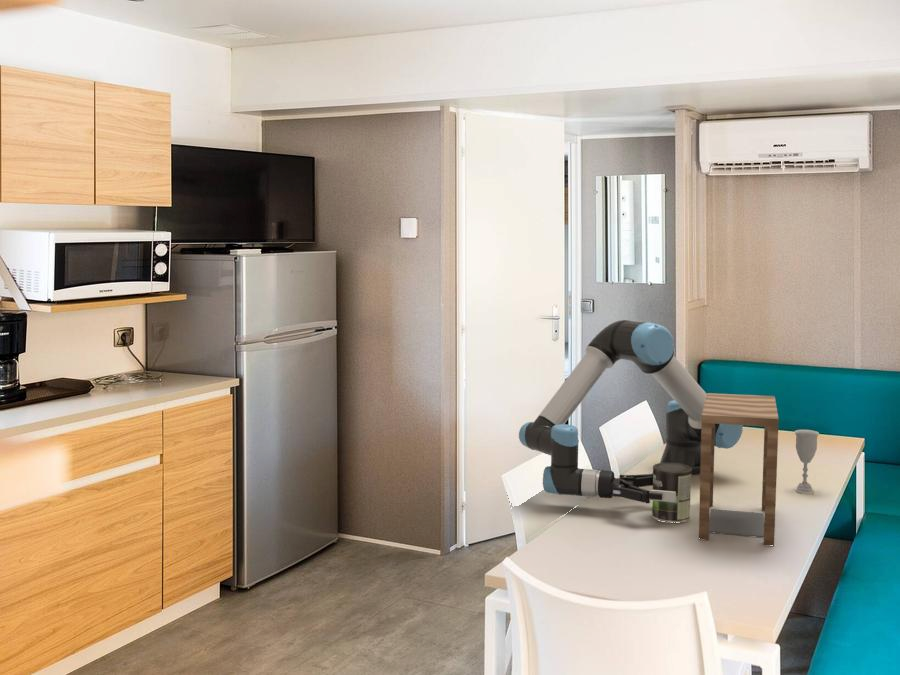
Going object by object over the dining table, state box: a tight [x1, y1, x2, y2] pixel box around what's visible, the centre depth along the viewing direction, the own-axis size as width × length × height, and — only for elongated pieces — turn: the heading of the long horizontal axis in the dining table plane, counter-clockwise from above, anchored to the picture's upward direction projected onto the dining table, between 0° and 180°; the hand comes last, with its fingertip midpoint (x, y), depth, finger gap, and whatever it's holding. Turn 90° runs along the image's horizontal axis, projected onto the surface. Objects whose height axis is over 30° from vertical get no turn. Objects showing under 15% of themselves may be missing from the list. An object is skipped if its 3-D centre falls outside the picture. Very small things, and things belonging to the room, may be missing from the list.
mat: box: [709, 508, 765, 538], centre depth 242 cm, size 20×14×1 cm
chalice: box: [794, 429, 820, 495], centre depth 270 cm, size 7×7×18 cm
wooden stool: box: [698, 392, 780, 547], centre depth 240 cm, size 32×18×32 cm, turn 162°
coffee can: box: [651, 462, 692, 524], centre depth 246 cm, size 10×10×14 cm
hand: (677, 490), depth 245 cm, fingers open, 13 cm apart
